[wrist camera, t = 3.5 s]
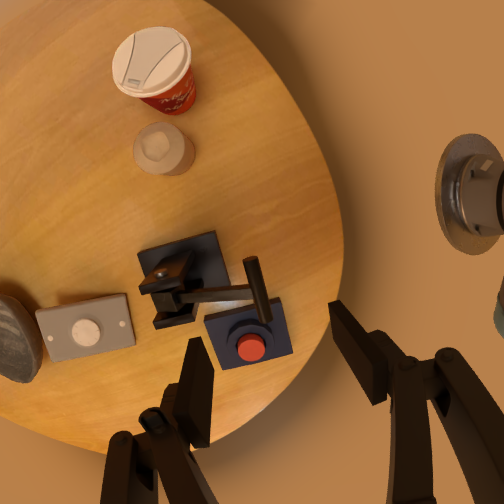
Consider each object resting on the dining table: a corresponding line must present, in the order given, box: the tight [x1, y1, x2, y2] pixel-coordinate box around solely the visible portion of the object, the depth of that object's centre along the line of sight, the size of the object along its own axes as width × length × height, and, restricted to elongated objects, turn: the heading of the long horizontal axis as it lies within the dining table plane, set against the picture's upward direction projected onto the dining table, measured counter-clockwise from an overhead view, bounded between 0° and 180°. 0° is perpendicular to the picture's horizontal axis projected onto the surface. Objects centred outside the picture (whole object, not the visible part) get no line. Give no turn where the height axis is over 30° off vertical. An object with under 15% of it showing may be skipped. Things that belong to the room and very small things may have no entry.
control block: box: [204, 297, 293, 370], centre depth 40 cm, size 11×9×4 cm
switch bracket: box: [137, 230, 231, 330], centre depth 33 cm, size 11×8×12 cm
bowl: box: [0, 293, 43, 383], centre depth 35 cm, size 18×18×8 cm
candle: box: [133, 122, 195, 176], centre depth 30 cm, size 6×6×10 cm
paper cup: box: [112, 26, 196, 115], centre depth 26 cm, size 8×8×14 cm
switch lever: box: [150, 256, 274, 324], centre depth 27 cm, size 12×6×2 cm, turn 105°
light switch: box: [35, 293, 136, 362], centre depth 37 cm, size 8×6×14 cm
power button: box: [238, 333, 265, 361], centre depth 38 cm, size 4×4×2 cm
